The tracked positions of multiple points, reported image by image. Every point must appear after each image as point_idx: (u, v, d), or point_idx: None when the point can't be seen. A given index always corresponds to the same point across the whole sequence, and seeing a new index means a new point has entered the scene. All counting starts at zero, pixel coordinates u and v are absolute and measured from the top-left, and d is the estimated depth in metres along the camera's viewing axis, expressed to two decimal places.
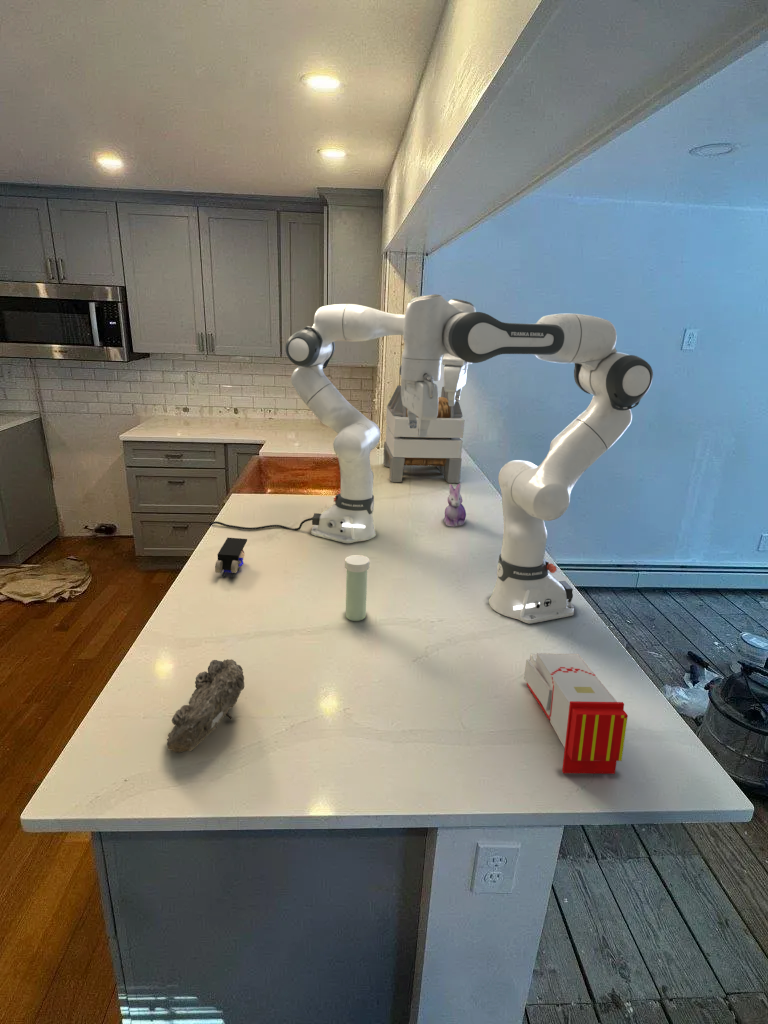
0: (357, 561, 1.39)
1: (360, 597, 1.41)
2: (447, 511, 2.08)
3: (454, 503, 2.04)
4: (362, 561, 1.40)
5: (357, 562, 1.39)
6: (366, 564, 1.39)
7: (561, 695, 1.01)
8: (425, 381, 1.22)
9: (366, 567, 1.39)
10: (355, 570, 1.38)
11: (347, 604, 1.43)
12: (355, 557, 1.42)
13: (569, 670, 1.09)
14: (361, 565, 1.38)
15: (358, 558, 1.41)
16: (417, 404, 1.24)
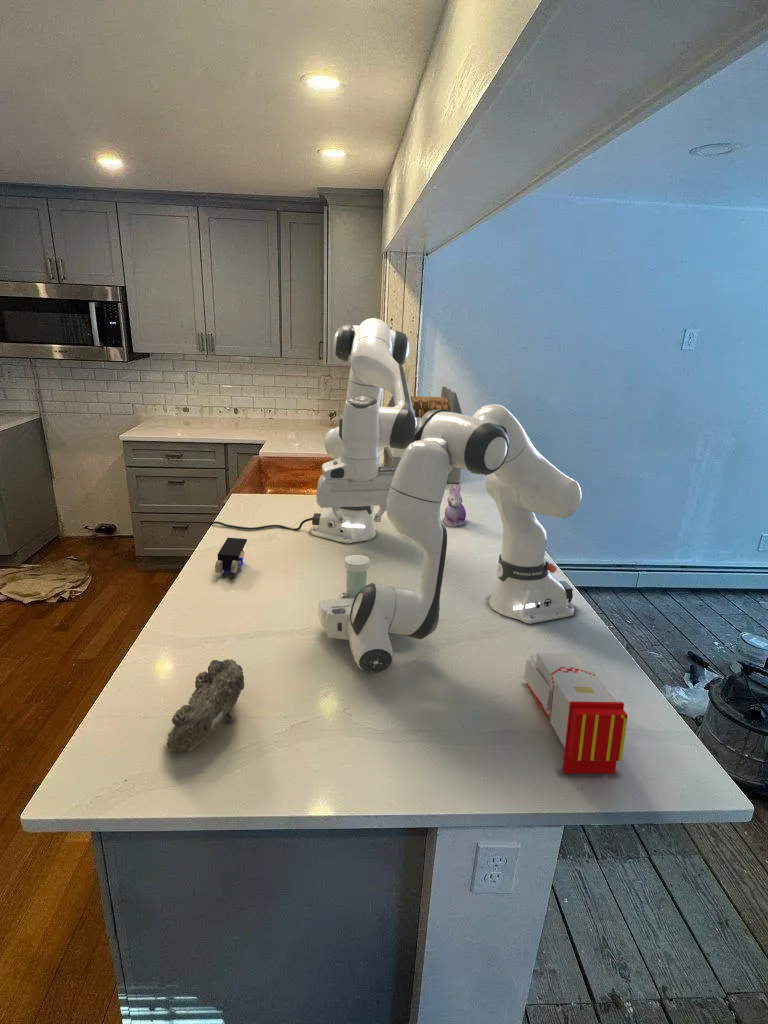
0: (357, 561, 1.39)
1: None
2: (447, 511, 2.08)
3: (454, 503, 2.04)
4: (362, 561, 1.40)
5: (357, 562, 1.39)
6: (366, 564, 1.39)
7: (561, 695, 1.01)
8: None
9: (366, 567, 1.39)
10: (355, 570, 1.38)
11: None
12: (355, 557, 1.42)
13: (569, 670, 1.09)
14: (361, 565, 1.38)
15: (358, 558, 1.41)
16: None
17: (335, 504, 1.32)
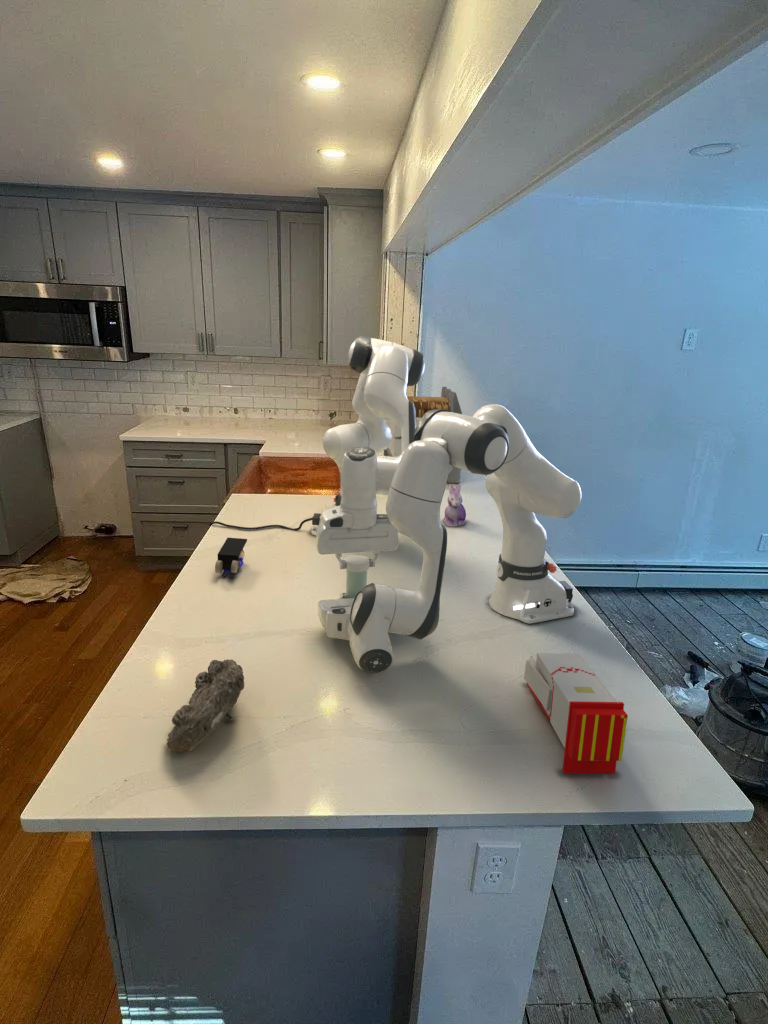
0: (357, 561, 1.39)
1: None
2: (447, 511, 2.08)
3: (454, 503, 2.04)
4: (362, 561, 1.40)
5: (357, 562, 1.39)
6: (366, 564, 1.39)
7: (561, 695, 1.01)
8: None
9: (366, 567, 1.39)
10: (355, 570, 1.38)
11: None
12: (355, 557, 1.42)
13: (569, 670, 1.09)
14: (361, 565, 1.38)
15: (358, 558, 1.41)
16: None
17: (334, 551, 1.36)
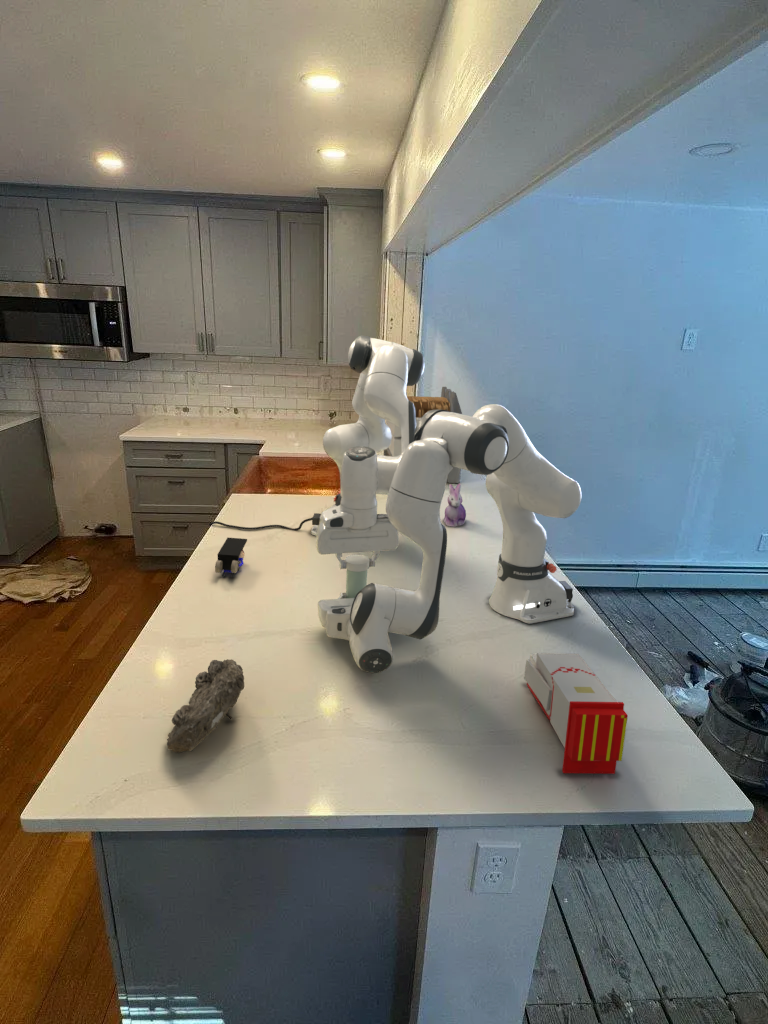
0: (362, 559, 1.40)
1: None
2: (447, 511, 2.08)
3: (454, 503, 2.04)
4: (361, 557, 1.42)
5: (363, 559, 1.40)
6: None
7: (561, 695, 1.01)
8: None
9: None
10: (368, 566, 1.40)
11: None
12: (351, 559, 1.40)
13: (569, 670, 1.09)
14: (368, 559, 1.41)
15: (354, 558, 1.41)
16: None
17: (334, 551, 1.36)
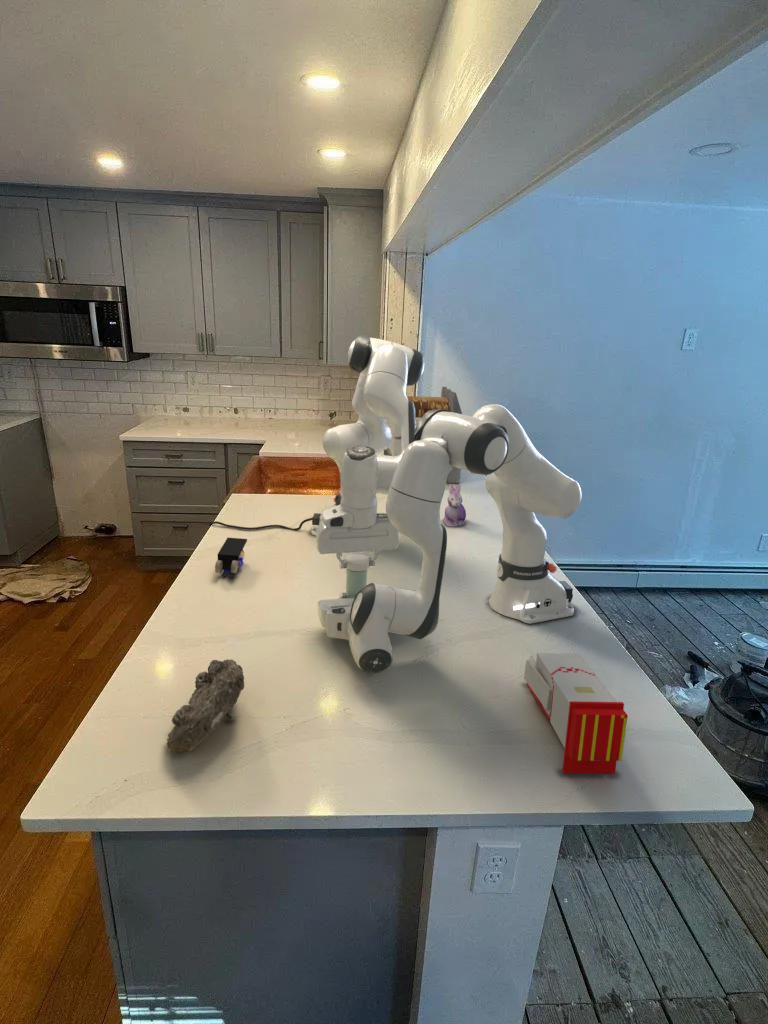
0: (358, 556, 1.41)
1: None
2: (447, 511, 2.08)
3: (454, 503, 2.04)
4: (353, 556, 1.41)
5: (358, 556, 1.42)
6: None
7: (561, 695, 1.01)
8: None
9: None
10: None
11: None
12: (357, 561, 1.39)
13: (569, 670, 1.09)
14: None
15: (355, 559, 1.40)
16: None
17: (334, 550, 1.36)
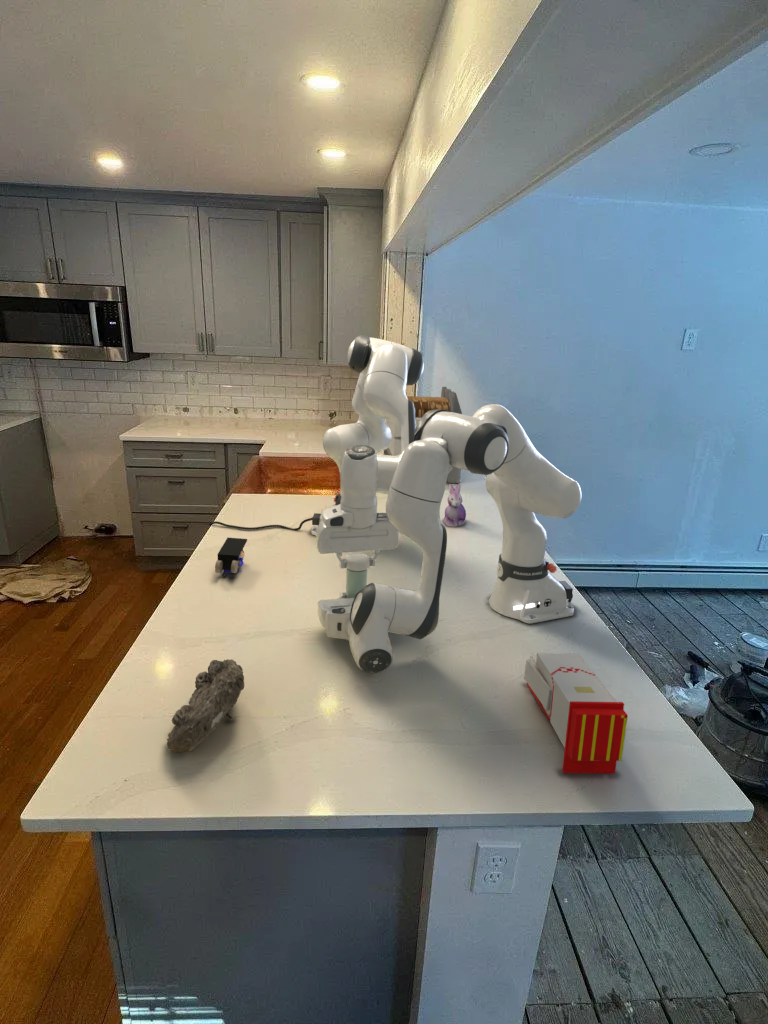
0: (352, 557, 1.41)
1: None
2: (447, 511, 2.08)
3: (454, 503, 2.04)
4: (351, 559, 1.39)
5: (351, 557, 1.41)
6: (346, 561, 1.39)
7: (561, 695, 1.01)
8: None
9: (346, 565, 1.39)
10: None
11: None
12: (363, 558, 1.40)
13: (569, 670, 1.09)
14: (345, 559, 1.40)
15: (359, 559, 1.40)
16: None
17: (334, 550, 1.36)
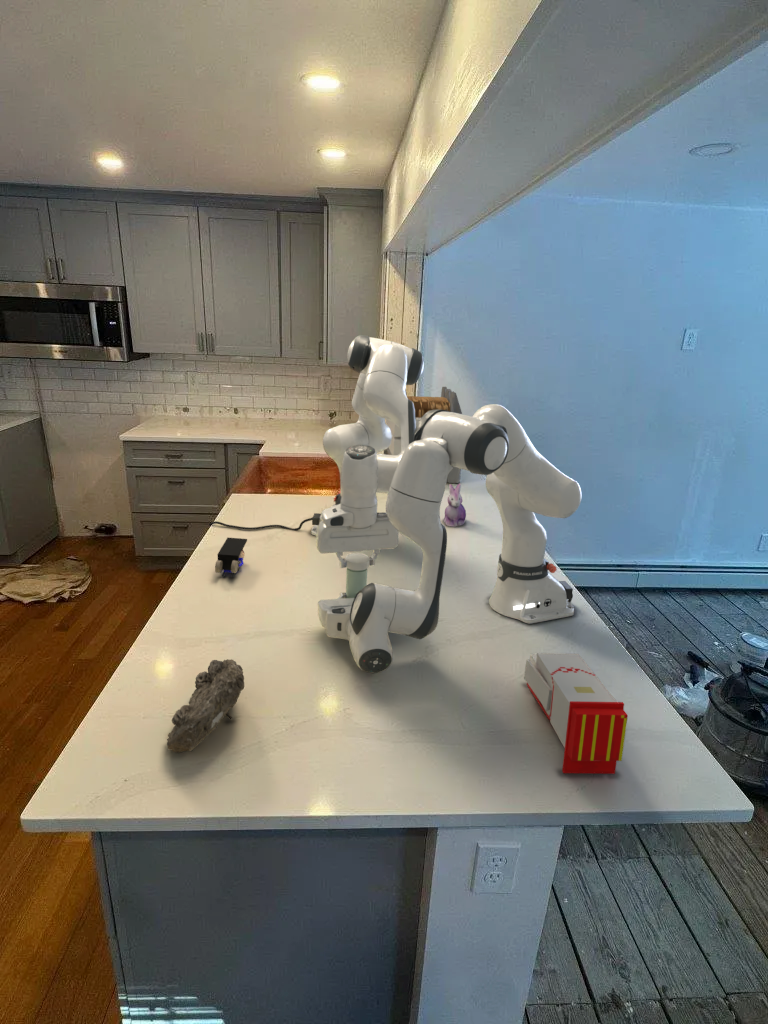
0: (355, 559, 1.39)
1: None
2: (447, 511, 2.08)
3: (454, 503, 2.04)
4: (360, 560, 1.39)
5: (354, 560, 1.39)
6: (362, 564, 1.38)
7: (561, 695, 1.01)
8: None
9: (362, 567, 1.38)
10: (350, 567, 1.38)
11: None
12: (358, 555, 1.42)
13: (569, 670, 1.09)
14: (356, 563, 1.38)
15: (359, 557, 1.41)
16: None
17: (335, 550, 1.36)
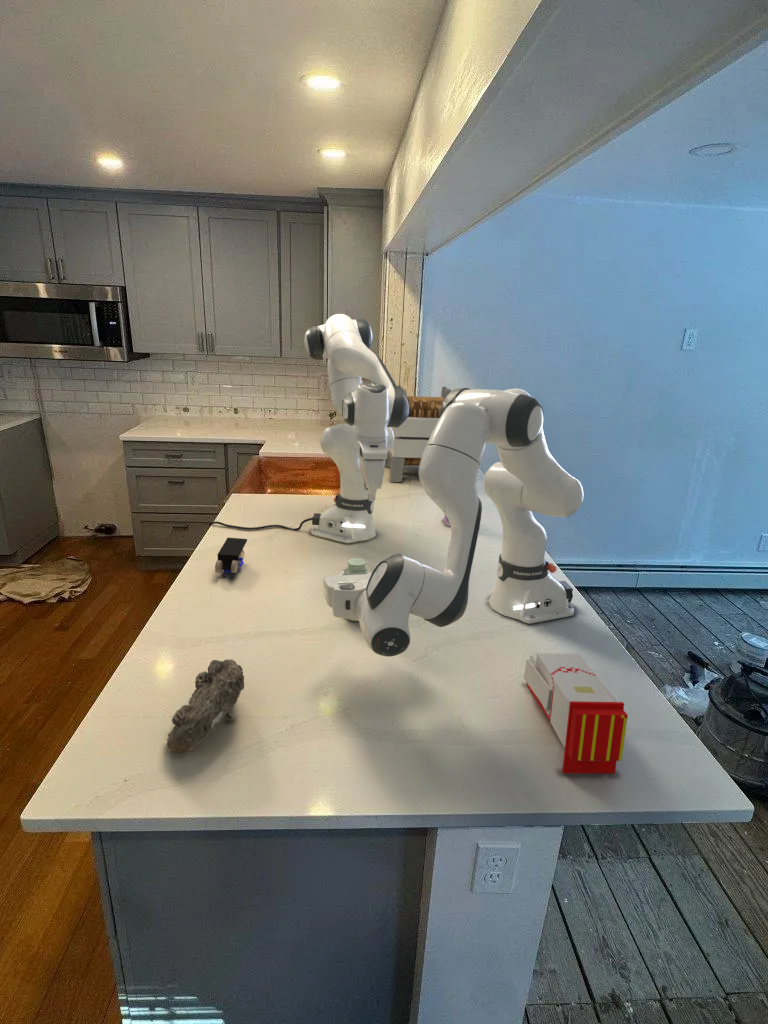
0: None
1: None
2: None
3: None
4: None
5: None
6: None
7: (561, 695, 1.01)
8: None
9: None
10: None
11: None
12: None
13: (569, 670, 1.09)
14: None
15: None
16: None
17: None
